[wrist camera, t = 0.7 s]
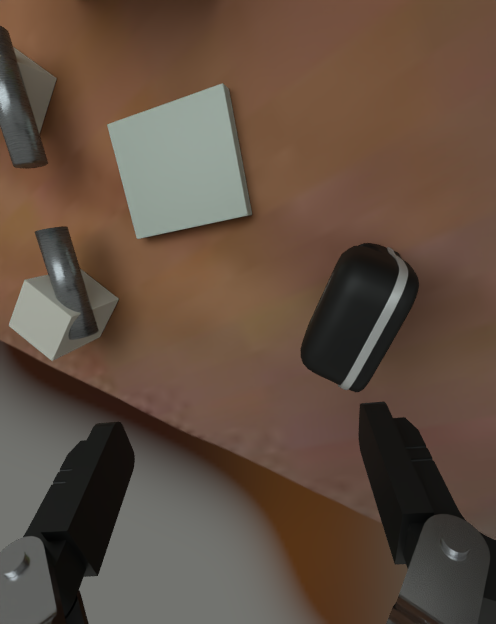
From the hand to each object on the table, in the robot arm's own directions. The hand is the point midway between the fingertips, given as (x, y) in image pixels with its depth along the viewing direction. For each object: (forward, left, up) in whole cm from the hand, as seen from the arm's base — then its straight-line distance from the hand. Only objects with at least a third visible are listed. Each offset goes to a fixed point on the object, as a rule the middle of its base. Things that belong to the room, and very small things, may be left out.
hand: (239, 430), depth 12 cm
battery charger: (-1, +3, -18) cm, 18 cm away
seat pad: (-12, -8, -18) cm, 23 cm away
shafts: (-12, -19, -15) cm, 27 cm away
